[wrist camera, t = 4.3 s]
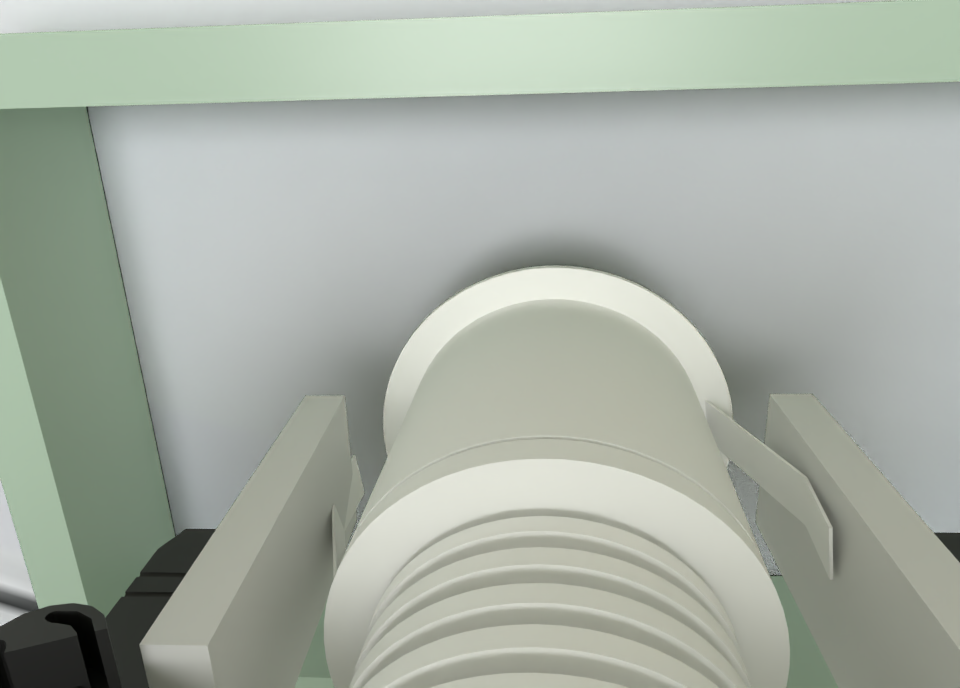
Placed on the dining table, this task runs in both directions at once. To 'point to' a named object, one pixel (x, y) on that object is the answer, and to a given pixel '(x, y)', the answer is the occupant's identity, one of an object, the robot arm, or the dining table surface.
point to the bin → (291, 77)
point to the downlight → (561, 504)
